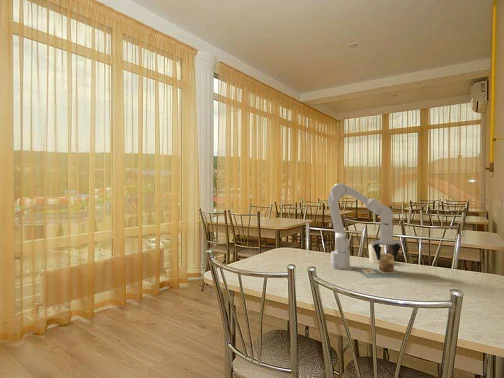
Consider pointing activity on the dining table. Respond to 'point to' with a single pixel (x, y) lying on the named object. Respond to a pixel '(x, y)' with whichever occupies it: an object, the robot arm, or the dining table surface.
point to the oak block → (386, 259)
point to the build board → (382, 274)
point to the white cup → (372, 253)
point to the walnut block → (386, 267)
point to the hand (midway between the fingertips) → (386, 259)
